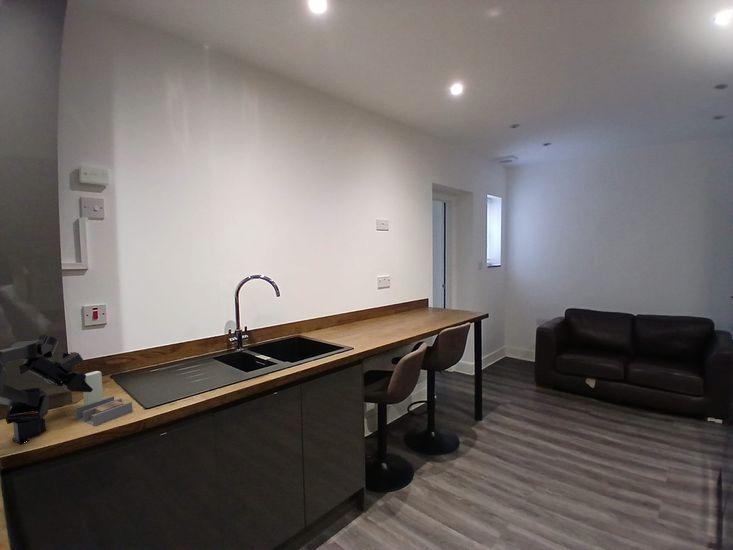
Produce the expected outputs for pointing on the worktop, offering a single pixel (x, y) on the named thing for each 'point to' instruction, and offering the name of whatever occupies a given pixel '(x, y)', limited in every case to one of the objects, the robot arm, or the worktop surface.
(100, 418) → the rack
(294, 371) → the worktop surface
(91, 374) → the pale upright slab
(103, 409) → the offcuts
